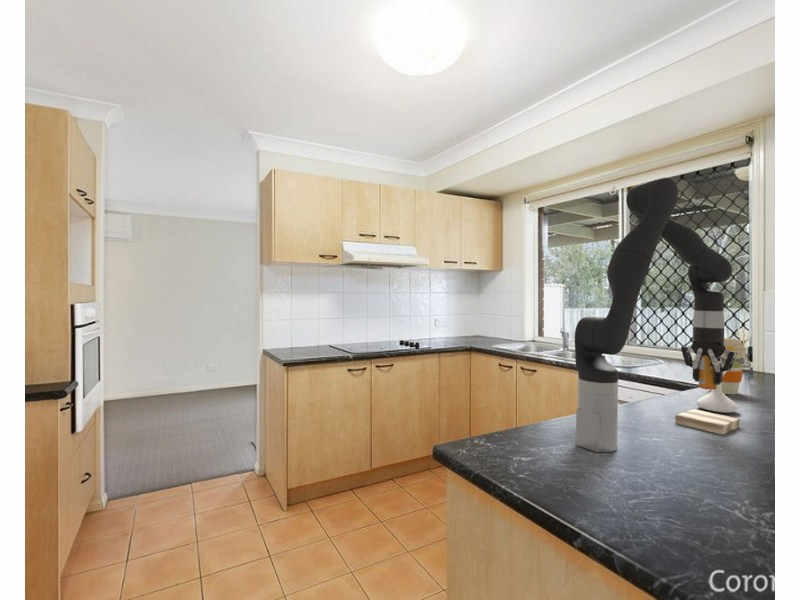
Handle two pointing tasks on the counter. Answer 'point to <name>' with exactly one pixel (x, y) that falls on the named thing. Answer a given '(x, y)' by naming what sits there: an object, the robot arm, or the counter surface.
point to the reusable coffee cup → (732, 378)
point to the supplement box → (706, 373)
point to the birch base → (707, 421)
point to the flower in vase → (716, 398)
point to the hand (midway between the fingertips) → (707, 382)
